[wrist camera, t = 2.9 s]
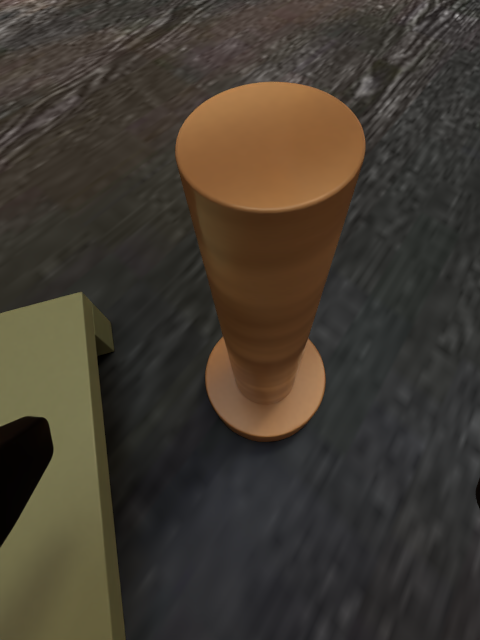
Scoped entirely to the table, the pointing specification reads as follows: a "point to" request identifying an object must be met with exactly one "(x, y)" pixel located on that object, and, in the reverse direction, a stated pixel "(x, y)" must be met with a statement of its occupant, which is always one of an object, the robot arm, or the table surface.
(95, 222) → the table surface
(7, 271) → the table surface
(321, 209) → the wooden peg stand
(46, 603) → the shelf
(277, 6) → the table surface
